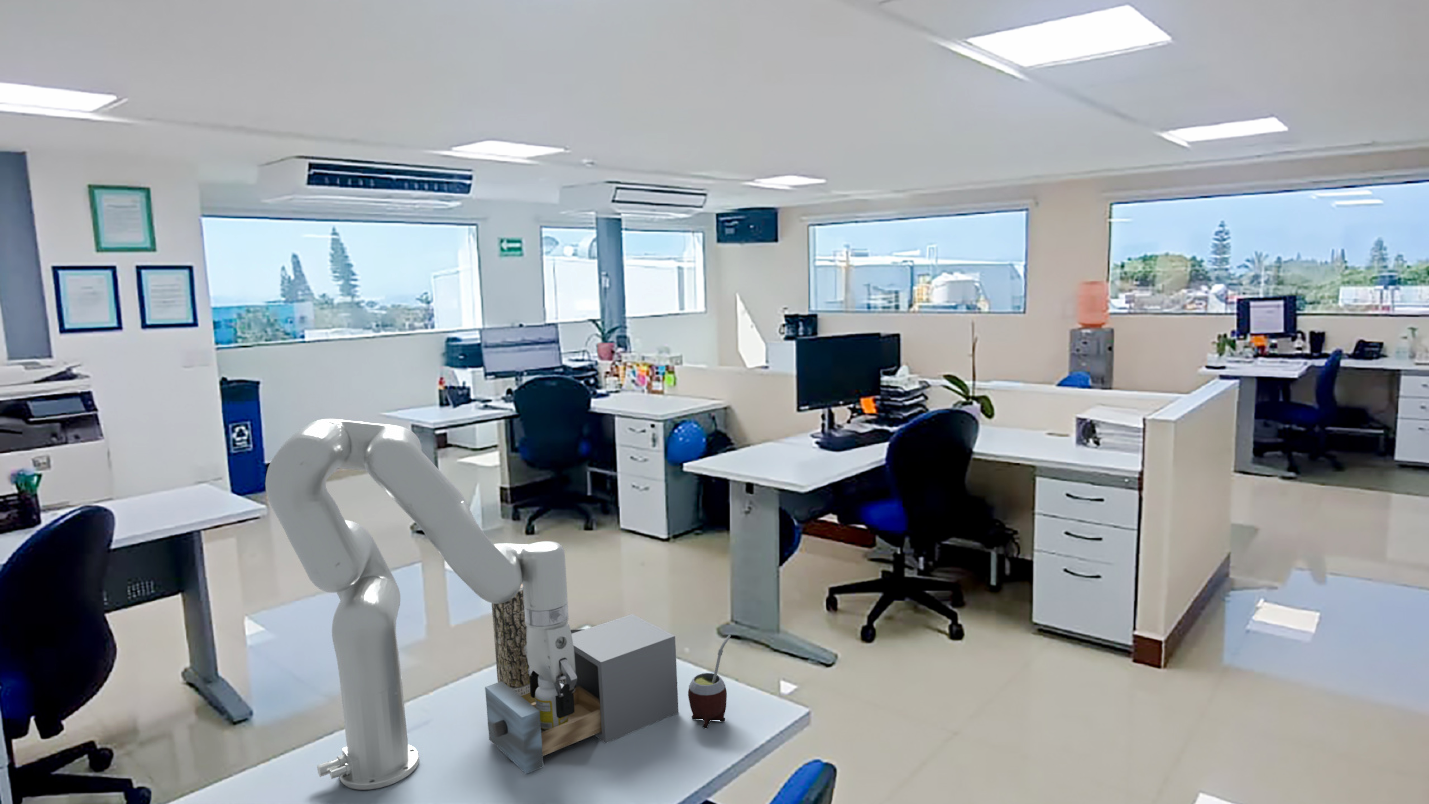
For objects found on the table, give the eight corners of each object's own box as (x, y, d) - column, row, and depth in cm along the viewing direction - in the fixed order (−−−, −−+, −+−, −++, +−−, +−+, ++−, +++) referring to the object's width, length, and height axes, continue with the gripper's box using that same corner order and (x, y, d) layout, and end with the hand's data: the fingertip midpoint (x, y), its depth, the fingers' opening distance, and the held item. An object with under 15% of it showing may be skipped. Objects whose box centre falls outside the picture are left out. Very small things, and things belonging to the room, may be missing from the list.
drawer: (517, 777, 141) (512, 720, 139) (480, 742, 152) (476, 689, 150) (617, 735, 153) (614, 682, 151) (576, 705, 164) (573, 656, 162)
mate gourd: (685, 728, 155) (682, 650, 153) (695, 706, 163) (692, 632, 161) (725, 731, 154) (722, 652, 152) (733, 709, 161) (731, 634, 159)
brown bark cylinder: (540, 700, 168) (532, 578, 164) (529, 718, 161) (520, 591, 157) (506, 699, 168) (497, 578, 165) (494, 717, 162) (484, 591, 158)
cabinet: (605, 743, 151) (601, 662, 149) (565, 713, 162) (560, 637, 160) (678, 712, 161) (675, 635, 159) (635, 685, 172) (632, 614, 170)
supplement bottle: (565, 717, 156) (561, 666, 155) (571, 731, 151) (567, 679, 150) (535, 723, 154) (531, 672, 153) (540, 738, 149) (536, 685, 148)
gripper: (590, 621, 145) (595, 716, 148) (542, 594, 159) (547, 681, 161) (550, 634, 141) (556, 731, 143) (504, 605, 154) (511, 694, 156)
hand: (552, 704), depth 152 cm, fingers open, 9 cm apart
